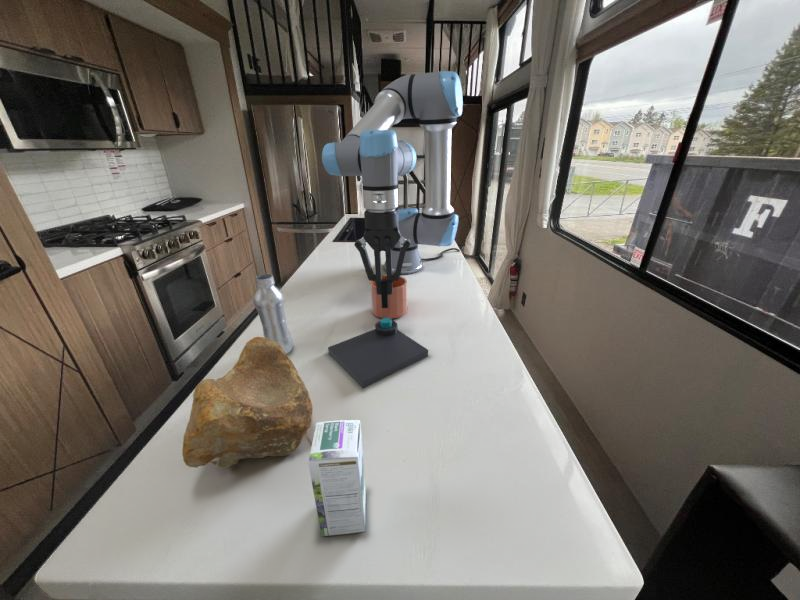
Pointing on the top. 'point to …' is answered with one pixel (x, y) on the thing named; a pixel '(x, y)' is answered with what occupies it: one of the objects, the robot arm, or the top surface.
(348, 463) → the syrup box
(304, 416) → the rough brown rock
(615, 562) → the top surface
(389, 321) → the tare button
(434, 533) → the top surface
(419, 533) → the top surface
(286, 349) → the silver water bottle
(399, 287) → the terracotta pot
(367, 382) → the scale
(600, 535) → the top surface
